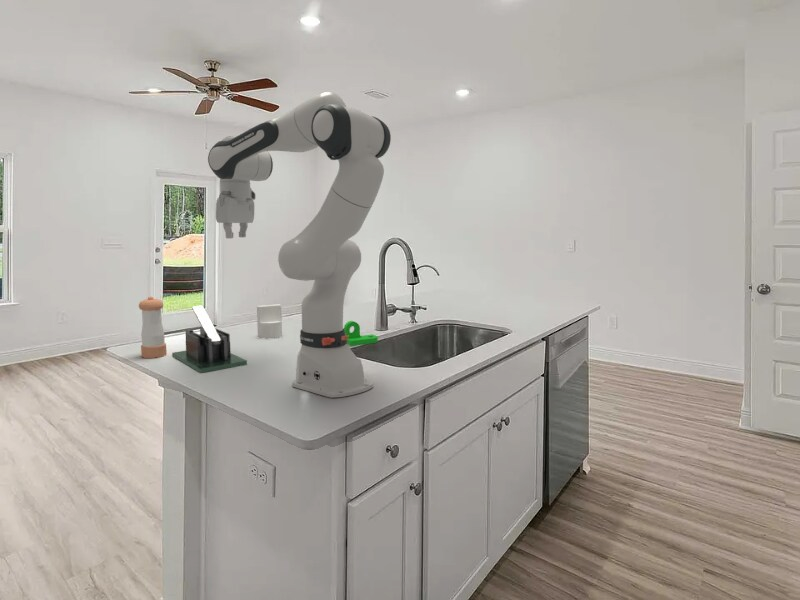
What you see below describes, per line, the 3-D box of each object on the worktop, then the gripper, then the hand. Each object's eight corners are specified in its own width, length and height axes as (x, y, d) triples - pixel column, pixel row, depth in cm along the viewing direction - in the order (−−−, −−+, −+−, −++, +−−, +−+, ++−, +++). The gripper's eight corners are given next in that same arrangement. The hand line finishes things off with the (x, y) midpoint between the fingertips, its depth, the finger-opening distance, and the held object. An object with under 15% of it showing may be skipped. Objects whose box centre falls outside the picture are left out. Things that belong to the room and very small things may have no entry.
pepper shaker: (143, 353, 160) (139, 295, 157) (167, 351, 163) (164, 294, 160) (140, 359, 154) (136, 298, 151) (165, 357, 156) (162, 297, 153)
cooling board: (246, 364, 149) (245, 336, 148) (200, 373, 140) (199, 343, 138) (215, 349, 167) (214, 324, 165) (172, 356, 157) (170, 330, 156)
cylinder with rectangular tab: (277, 332, 194) (276, 303, 192) (285, 337, 186) (284, 306, 185) (254, 335, 189) (253, 304, 187) (261, 339, 182) (260, 308, 180)
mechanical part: (350, 346, 174) (350, 324, 173) (343, 342, 179) (343, 321, 178) (380, 342, 180) (380, 321, 179) (372, 339, 185) (373, 318, 184)
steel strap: (222, 345, 148) (222, 342, 147) (212, 347, 146) (213, 343, 145) (201, 308, 158) (202, 305, 157) (192, 309, 156) (192, 305, 155)
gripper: (230, 190, 139) (231, 239, 141) (257, 194, 159) (258, 237, 161) (209, 189, 139) (210, 238, 142) (238, 193, 160) (239, 236, 162)
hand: (236, 237), depth 152 cm, fingers open, 8 cm apart
